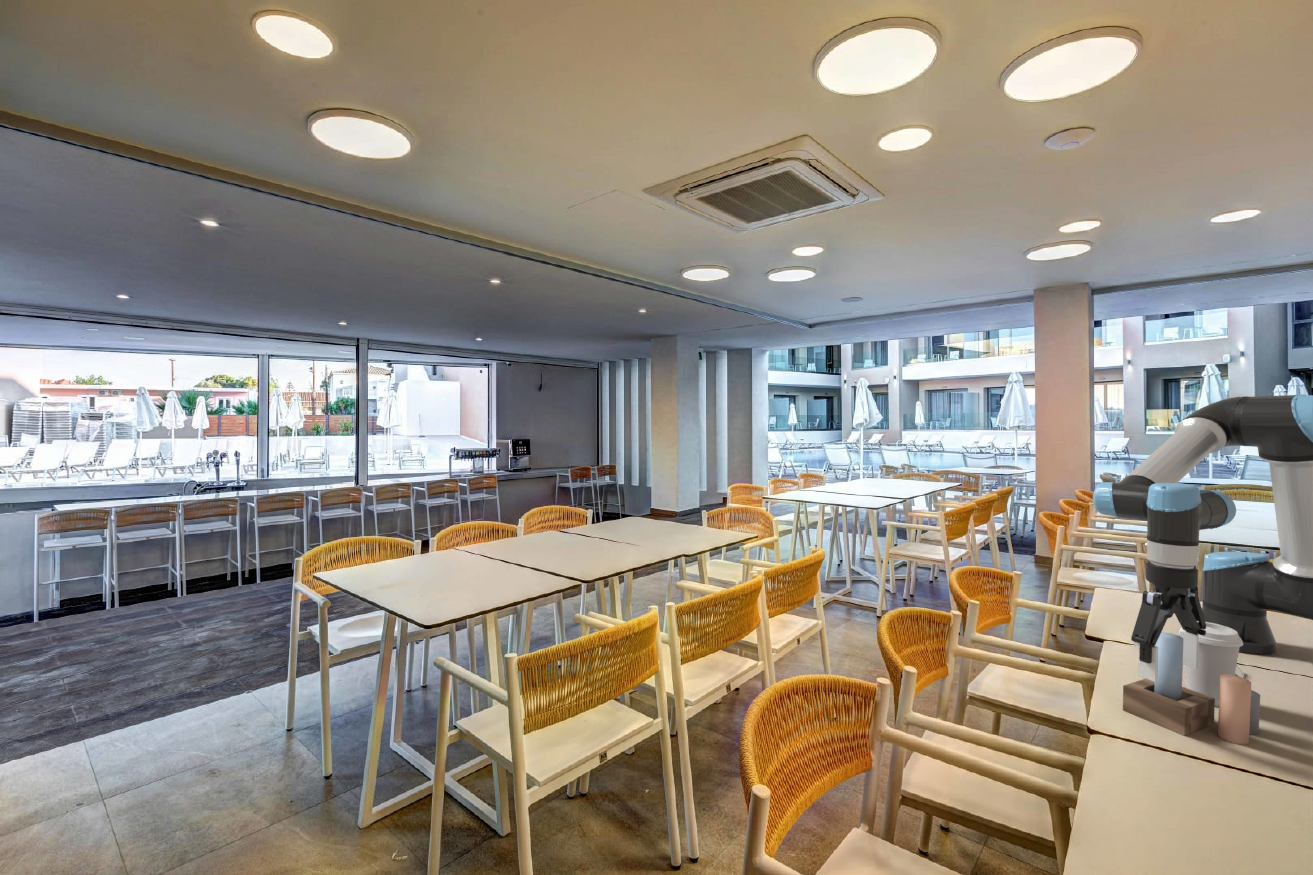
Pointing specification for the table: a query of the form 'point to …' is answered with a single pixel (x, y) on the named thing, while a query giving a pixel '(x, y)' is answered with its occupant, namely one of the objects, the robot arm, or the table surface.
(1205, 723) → the socket block
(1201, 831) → the table surface
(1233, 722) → the medium dowel
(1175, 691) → the tall dowel
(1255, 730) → the short dowel
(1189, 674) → the coffee cup
